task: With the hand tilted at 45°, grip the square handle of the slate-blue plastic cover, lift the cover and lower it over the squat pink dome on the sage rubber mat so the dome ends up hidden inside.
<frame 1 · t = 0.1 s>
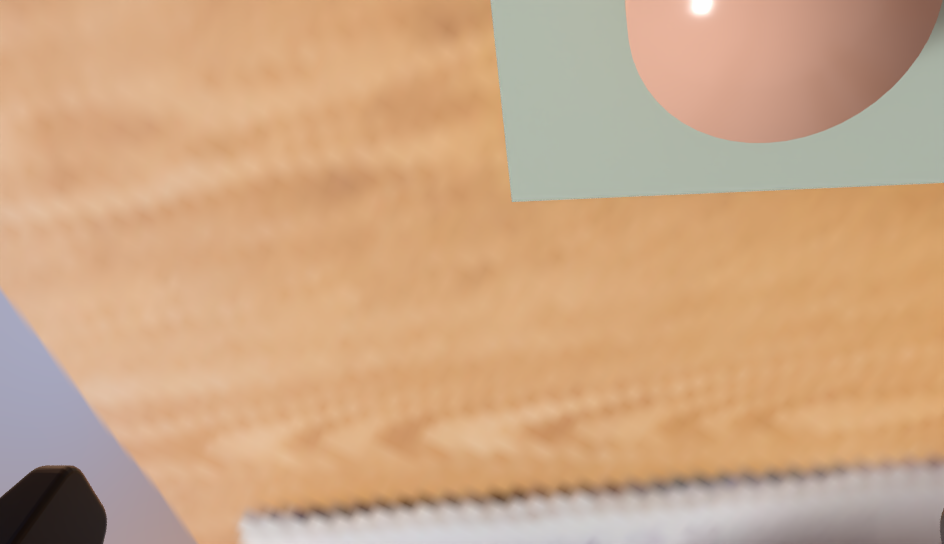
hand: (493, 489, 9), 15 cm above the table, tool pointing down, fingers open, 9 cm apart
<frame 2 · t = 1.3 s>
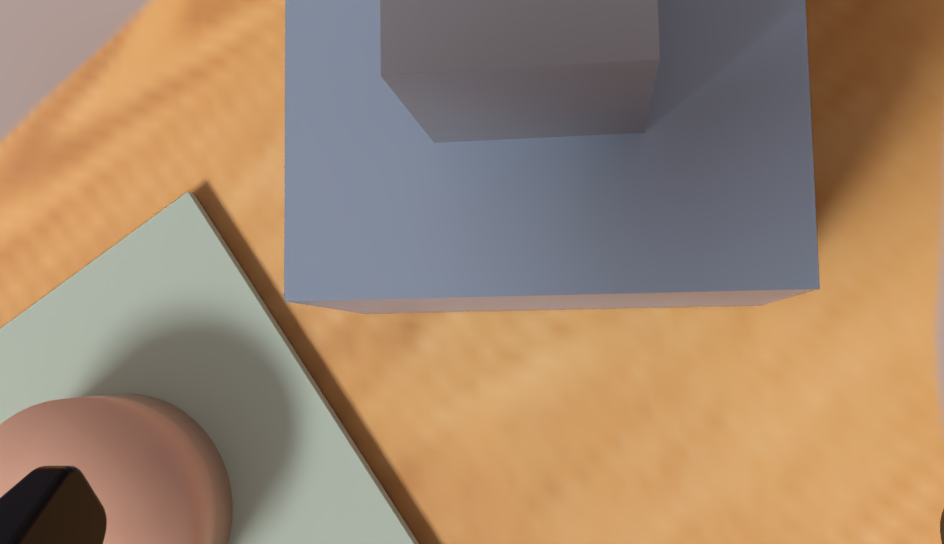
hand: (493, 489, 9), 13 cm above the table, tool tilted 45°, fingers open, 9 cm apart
mat: (131, 506, 24), on the table
pink dome: (123, 508, 23), resting on mat
cover: (551, 115, 23), on the table
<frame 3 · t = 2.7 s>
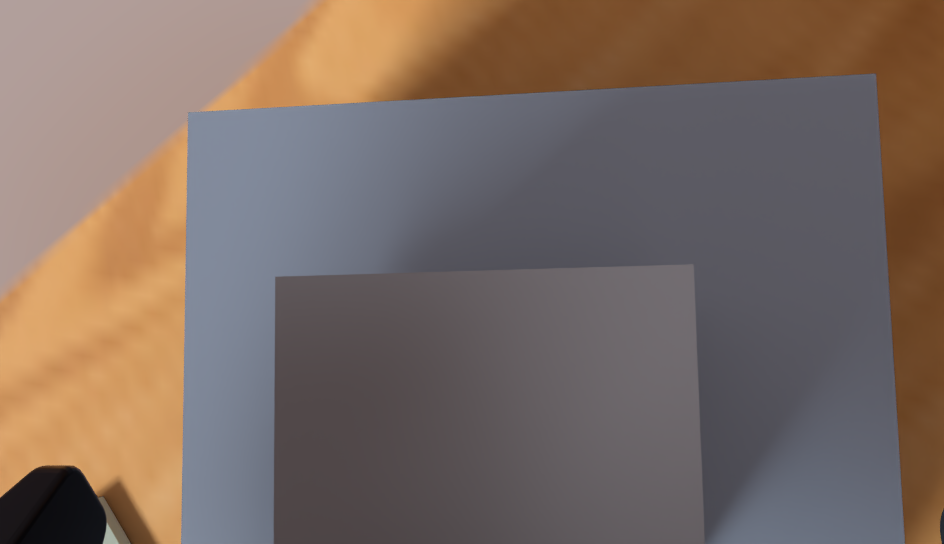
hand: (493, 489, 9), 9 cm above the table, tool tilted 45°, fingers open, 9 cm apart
cover: (546, 416, 18), on the table
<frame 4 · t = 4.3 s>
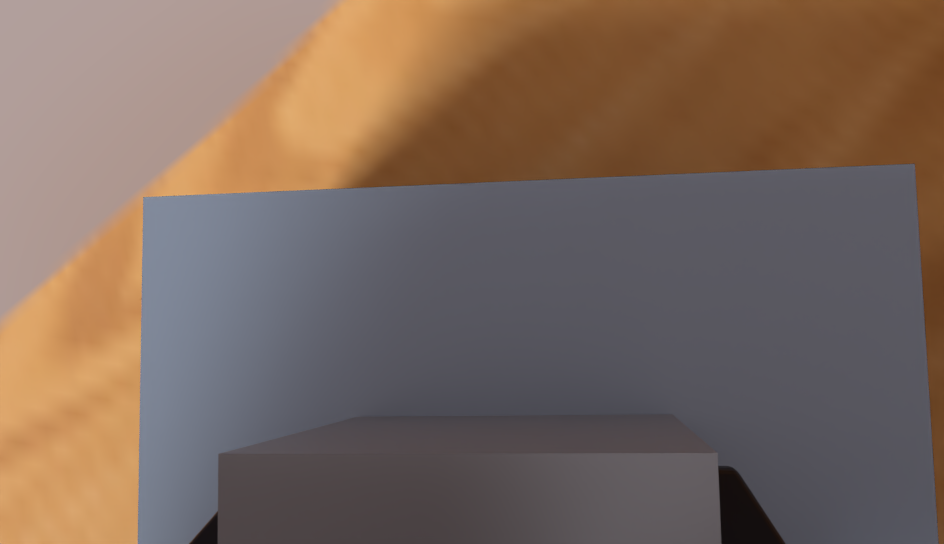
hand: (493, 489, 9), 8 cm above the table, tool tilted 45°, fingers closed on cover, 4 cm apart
cover: (543, 499, 17), on the table, touching gripper
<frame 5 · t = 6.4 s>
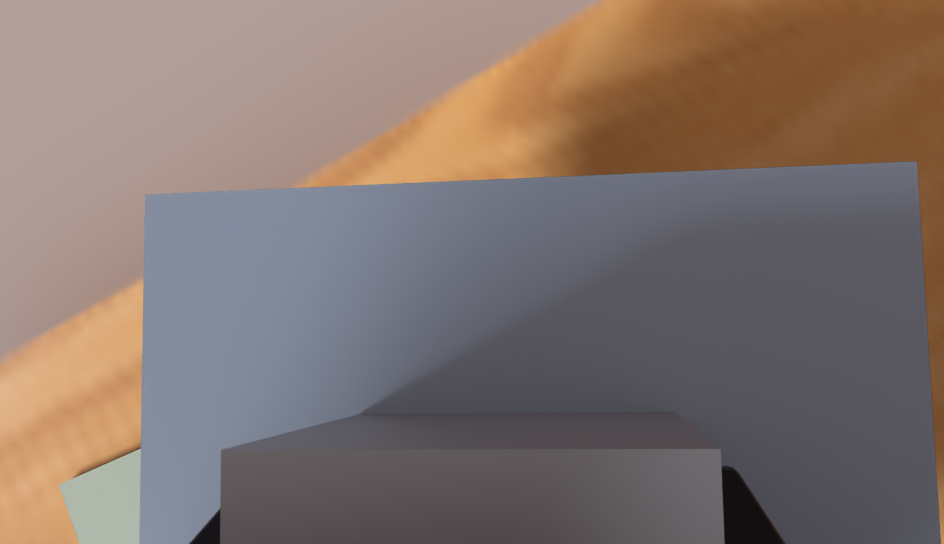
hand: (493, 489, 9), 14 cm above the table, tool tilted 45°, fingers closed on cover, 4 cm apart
cover: (545, 497, 17), point 5 cm above the table, touching gripper
when the fingers open (10 cm above the table, at t = 8.6 s): cover drops 1 cm, resting on mat.
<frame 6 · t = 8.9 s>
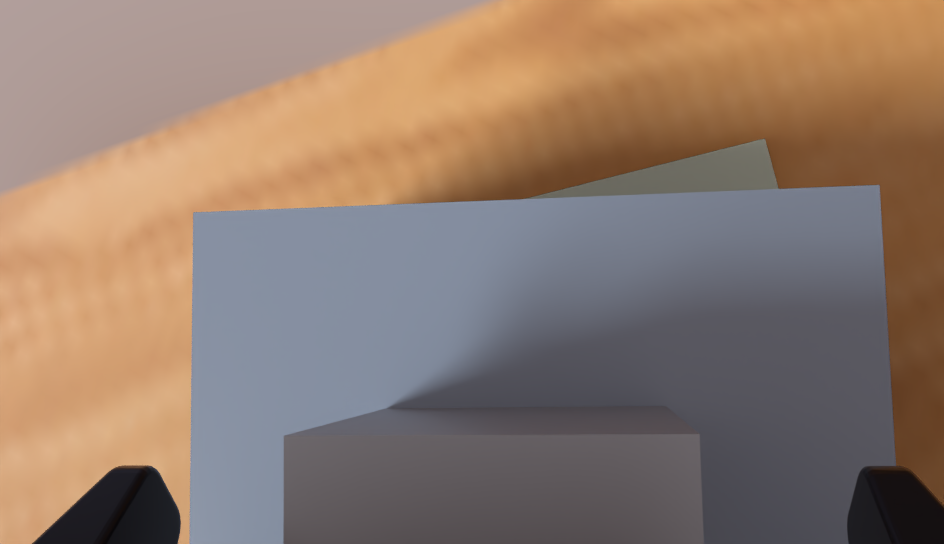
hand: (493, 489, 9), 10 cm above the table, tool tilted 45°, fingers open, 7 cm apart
mat: (549, 484, 19), on the table
cover: (549, 487, 19), resting on mat
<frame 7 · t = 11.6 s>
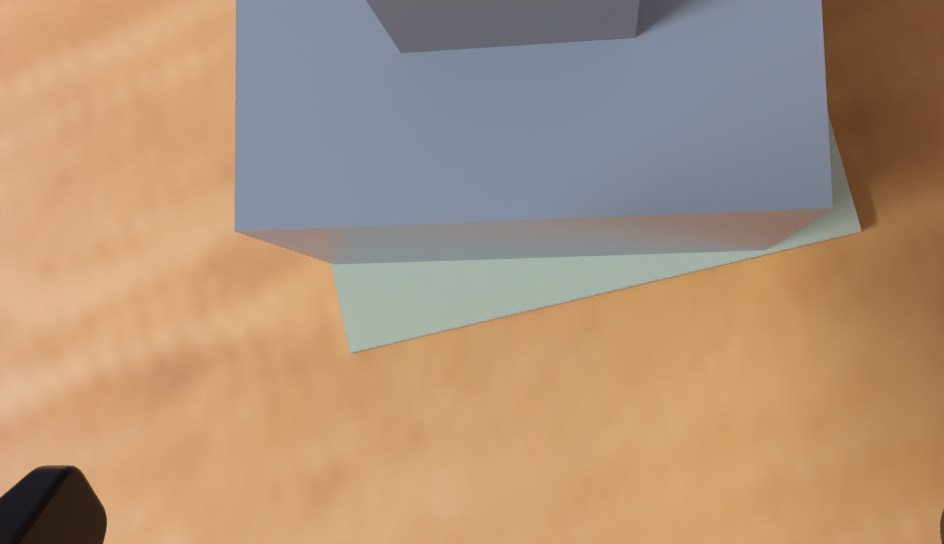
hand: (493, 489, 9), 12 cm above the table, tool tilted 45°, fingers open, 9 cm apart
mat: (538, 54, 22), on the table
cover: (537, 48, 21), resting on mat
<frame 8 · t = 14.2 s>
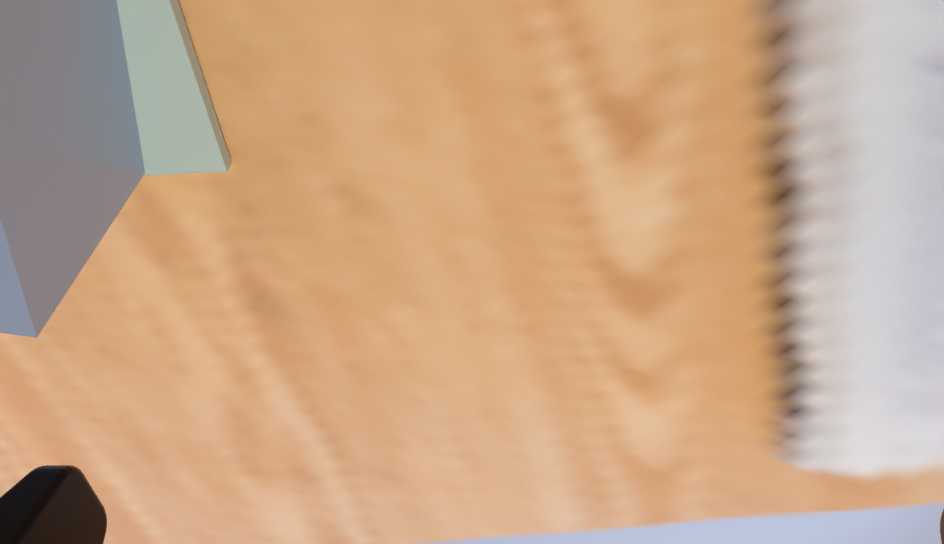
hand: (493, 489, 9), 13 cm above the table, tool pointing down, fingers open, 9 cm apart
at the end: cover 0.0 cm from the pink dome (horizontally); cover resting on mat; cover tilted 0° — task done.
